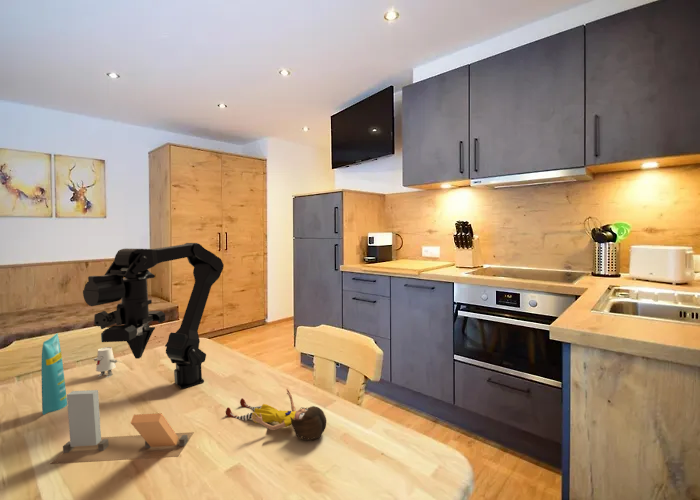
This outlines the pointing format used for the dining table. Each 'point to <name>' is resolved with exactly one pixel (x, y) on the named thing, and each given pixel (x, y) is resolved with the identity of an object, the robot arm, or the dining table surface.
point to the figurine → (287, 418)
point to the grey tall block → (84, 418)
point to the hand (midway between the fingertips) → (138, 358)
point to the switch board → (120, 449)
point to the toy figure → (105, 361)
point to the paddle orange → (155, 429)
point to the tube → (52, 376)
